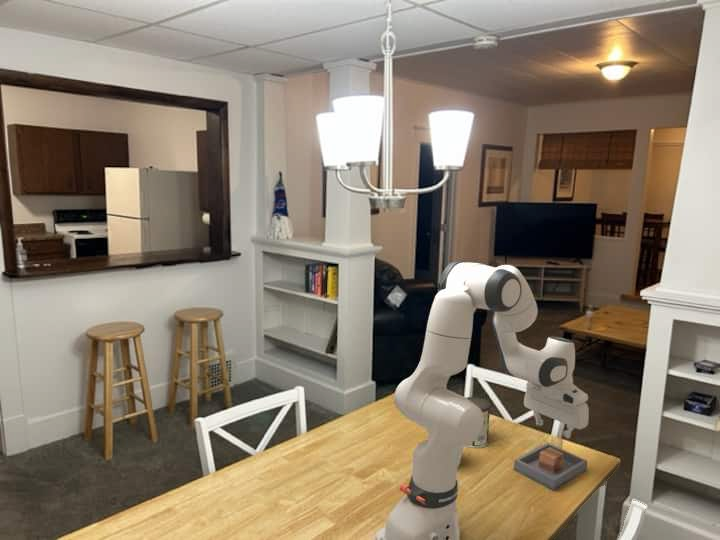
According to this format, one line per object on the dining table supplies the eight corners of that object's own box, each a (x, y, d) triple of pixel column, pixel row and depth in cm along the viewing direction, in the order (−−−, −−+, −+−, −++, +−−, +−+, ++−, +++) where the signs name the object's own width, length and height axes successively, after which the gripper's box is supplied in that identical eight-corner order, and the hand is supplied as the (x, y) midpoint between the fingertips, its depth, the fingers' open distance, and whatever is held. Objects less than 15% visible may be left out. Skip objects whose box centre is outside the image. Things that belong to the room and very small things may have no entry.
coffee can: (468, 430, 188) (470, 394, 186) (493, 440, 181) (496, 402, 179) (452, 440, 181) (453, 402, 178) (477, 451, 174) (480, 412, 171)
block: (553, 473, 159) (554, 458, 158) (538, 466, 163) (539, 451, 162) (562, 468, 162) (563, 453, 161) (547, 461, 166) (549, 447, 165)
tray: (553, 491, 152) (554, 480, 151) (513, 469, 163) (514, 459, 162) (586, 471, 163) (587, 460, 162) (547, 452, 174) (547, 442, 173)
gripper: (521, 380, 164) (518, 421, 166) (581, 402, 148) (577, 447, 150) (533, 376, 168) (529, 416, 170) (593, 397, 152) (589, 441, 154)
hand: (552, 431), depth 160 cm, fingers open, 8 cm apart
